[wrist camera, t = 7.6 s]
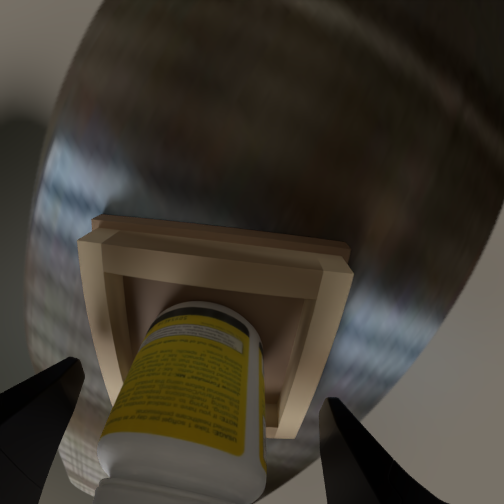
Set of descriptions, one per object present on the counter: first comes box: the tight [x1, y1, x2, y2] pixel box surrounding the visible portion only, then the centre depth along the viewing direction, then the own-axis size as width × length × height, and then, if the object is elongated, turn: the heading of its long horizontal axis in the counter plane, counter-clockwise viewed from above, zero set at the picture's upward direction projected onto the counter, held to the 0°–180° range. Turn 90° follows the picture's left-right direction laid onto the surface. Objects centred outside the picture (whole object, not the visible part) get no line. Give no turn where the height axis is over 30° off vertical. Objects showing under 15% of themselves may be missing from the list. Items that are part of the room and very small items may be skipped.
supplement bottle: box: [93, 301, 267, 504], centre depth 7 cm, size 5×5×8 cm
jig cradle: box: [77, 214, 354, 439], centre depth 11 cm, size 10×10×2 cm
